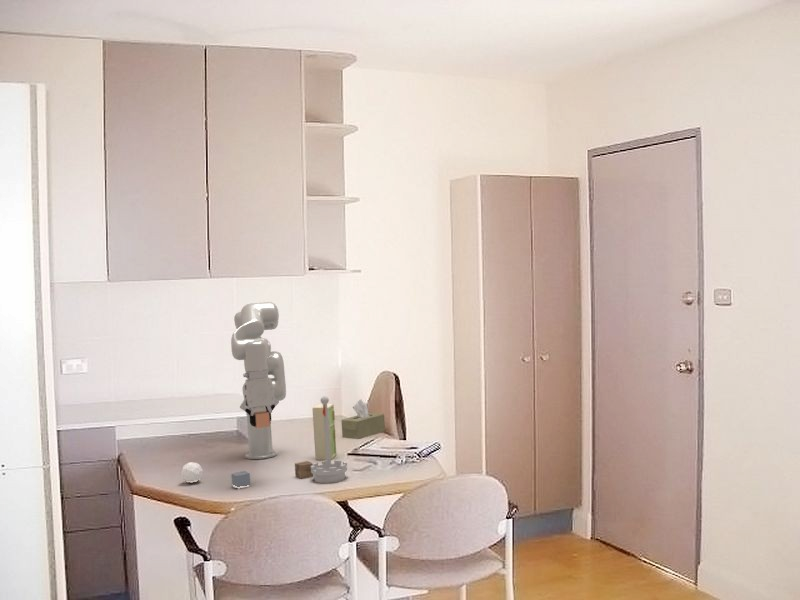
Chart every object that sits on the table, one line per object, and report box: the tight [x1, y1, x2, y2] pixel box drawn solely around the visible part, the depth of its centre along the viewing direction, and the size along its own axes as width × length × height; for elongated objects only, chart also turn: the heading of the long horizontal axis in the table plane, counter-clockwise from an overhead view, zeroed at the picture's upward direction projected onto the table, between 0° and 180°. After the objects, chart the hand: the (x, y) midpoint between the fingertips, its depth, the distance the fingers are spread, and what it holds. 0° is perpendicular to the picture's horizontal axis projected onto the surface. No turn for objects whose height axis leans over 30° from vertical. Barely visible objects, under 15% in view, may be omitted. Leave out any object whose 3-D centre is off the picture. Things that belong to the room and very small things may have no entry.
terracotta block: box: [253, 411, 270, 428], centre depth 328 cm, size 5×5×5 cm
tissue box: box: [340, 399, 386, 440], centre depth 403 cm, size 19×10×16 cm, turn 141°
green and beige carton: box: [312, 403, 337, 461], centre depth 359 cm, size 8×7×21 cm
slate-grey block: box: [231, 470, 252, 487], centre depth 321 cm, size 5×5×5 cm
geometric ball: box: [180, 461, 204, 482], centre depth 331 cm, size 8×8×8 cm
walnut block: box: [294, 460, 314, 480], centre depth 331 cm, size 5×5×5 cm
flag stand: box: [311, 395, 348, 484], centre depth 324 cm, size 13×13×30 cm
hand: (260, 424), depth 328 cm, fingers closed on terracotta block, 5 cm apart
